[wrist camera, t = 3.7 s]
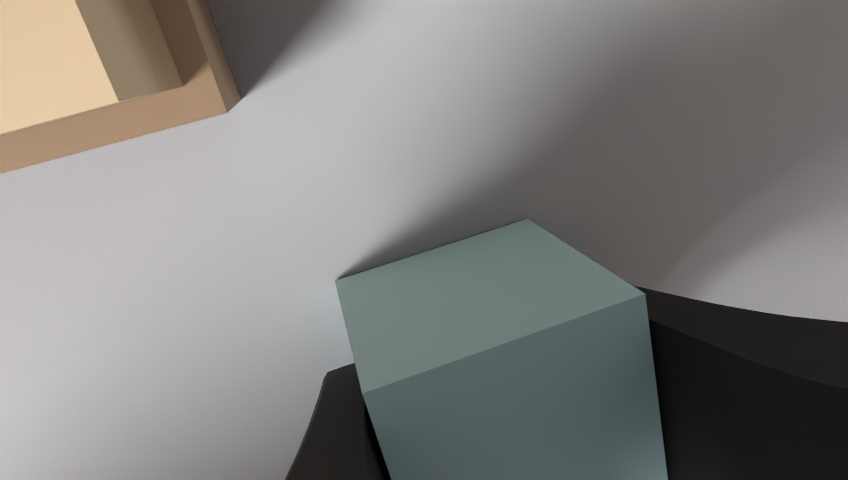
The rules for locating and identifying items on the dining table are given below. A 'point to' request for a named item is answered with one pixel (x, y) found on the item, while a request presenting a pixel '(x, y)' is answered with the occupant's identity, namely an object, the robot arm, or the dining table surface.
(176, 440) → the dining table surface
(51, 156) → the tower base
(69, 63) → the tower top
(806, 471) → the robot arm
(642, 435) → the teal cube
